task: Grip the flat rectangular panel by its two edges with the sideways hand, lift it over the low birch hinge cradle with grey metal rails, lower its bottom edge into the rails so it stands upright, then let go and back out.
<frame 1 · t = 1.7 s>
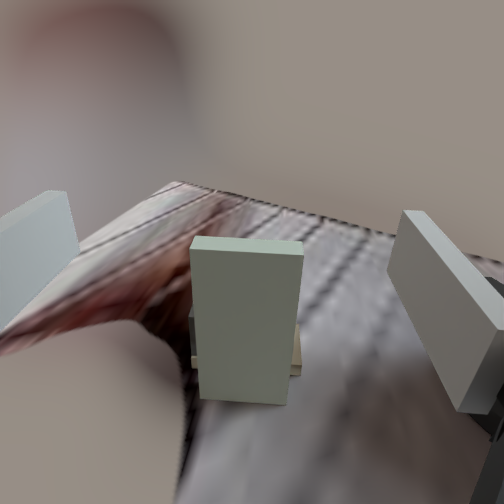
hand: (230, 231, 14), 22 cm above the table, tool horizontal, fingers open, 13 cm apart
cradle: (248, 349, 38), on the table
flat rectangular panel: (243, 392, 33), on the table
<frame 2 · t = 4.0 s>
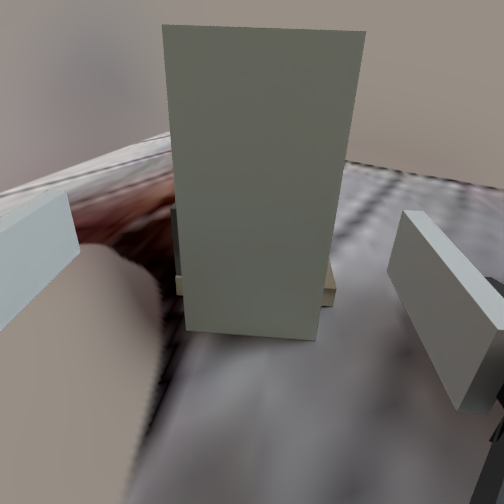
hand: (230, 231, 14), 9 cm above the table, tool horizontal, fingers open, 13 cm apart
cradle: (256, 277, 27), on the table
flat rectangular panel: (251, 324, 22), on the table
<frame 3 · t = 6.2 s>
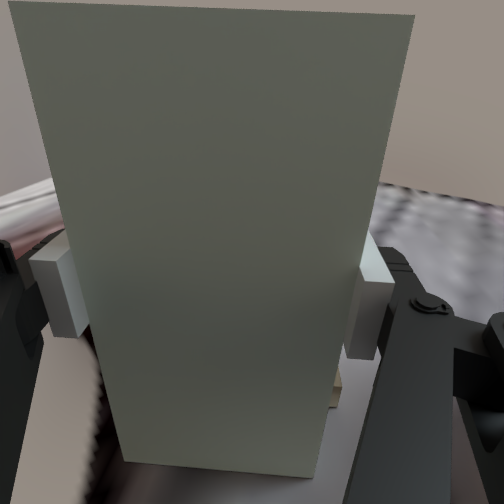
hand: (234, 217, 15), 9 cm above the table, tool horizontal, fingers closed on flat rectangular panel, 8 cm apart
flat rectangular panel: (221, 446, 16), on the table, touching gripper
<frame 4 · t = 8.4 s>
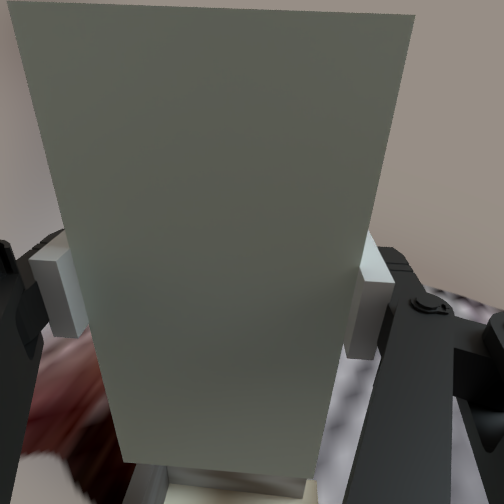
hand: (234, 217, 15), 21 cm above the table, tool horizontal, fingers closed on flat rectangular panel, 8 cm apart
flat rectangular panel: (220, 447, 16), point 12 cm above the table, touching gripper
when the fingers open (12 cm above the table, at t = 11.1 s): flat rectangular panel drops 1 cm, resting on cradle.
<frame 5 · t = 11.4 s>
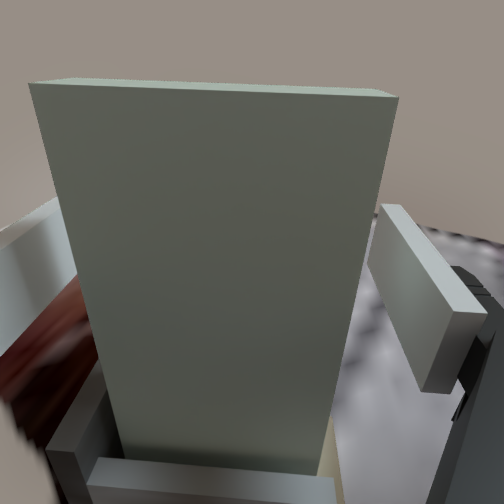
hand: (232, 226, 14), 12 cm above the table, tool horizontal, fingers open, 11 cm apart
cradle: (222, 482, 17), on the table
flat rectangular panel: (223, 466, 16), point 2 cm above the table, touching cradle
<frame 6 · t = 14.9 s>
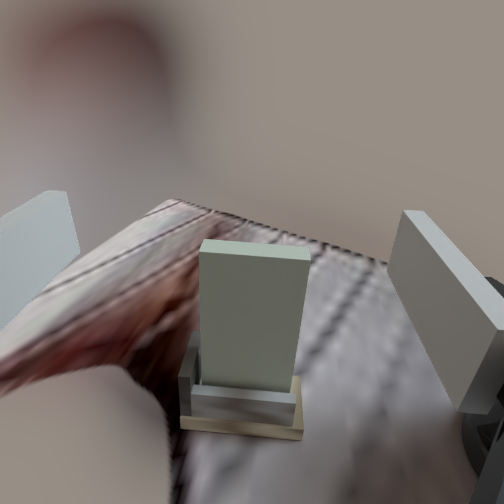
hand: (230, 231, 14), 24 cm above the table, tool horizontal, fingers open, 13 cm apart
cradle: (243, 405, 34), on the table
flat rectangular panel: (245, 396, 33), point 1 cm above the table, touching cradle
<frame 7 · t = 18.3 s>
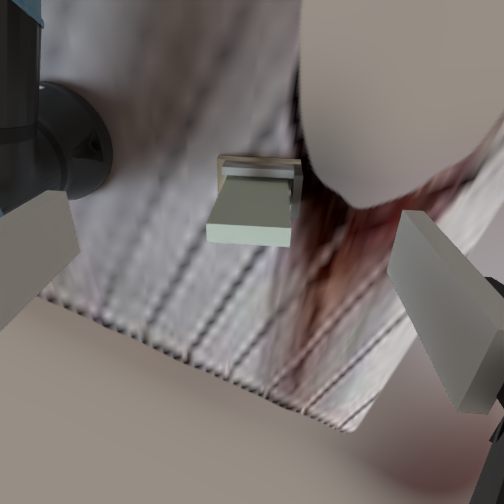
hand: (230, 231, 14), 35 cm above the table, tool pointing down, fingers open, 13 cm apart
cradle: (258, 179, 49), on the table
flat rectangular panel: (257, 182, 47), point 1 cm above the table, touching cradle
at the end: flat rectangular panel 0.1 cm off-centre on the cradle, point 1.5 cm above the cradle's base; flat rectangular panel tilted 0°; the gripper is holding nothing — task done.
